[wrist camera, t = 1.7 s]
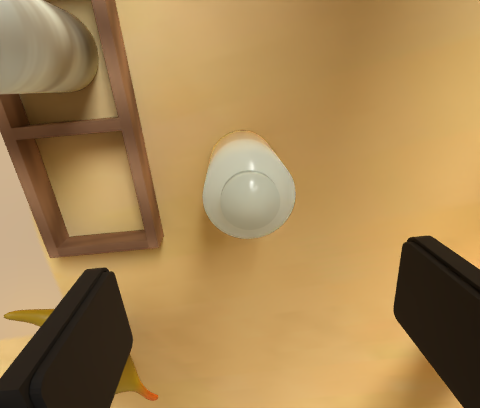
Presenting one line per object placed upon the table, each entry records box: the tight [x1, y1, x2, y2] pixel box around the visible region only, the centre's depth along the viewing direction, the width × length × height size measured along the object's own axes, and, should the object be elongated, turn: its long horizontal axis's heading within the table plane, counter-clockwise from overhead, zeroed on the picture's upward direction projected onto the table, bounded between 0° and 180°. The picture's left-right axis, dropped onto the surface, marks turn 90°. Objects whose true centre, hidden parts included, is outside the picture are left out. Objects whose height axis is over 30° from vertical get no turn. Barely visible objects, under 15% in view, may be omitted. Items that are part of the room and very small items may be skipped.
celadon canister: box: [203, 130, 296, 239], centre depth 19 cm, size 5×5×9 cm
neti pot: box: [4, 309, 158, 401], centre depth 26 cm, size 4×15×6 cm, turn 50°
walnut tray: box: [0, 0, 164, 258], centre depth 18 cm, size 20×9×9 cm, turn 5°
